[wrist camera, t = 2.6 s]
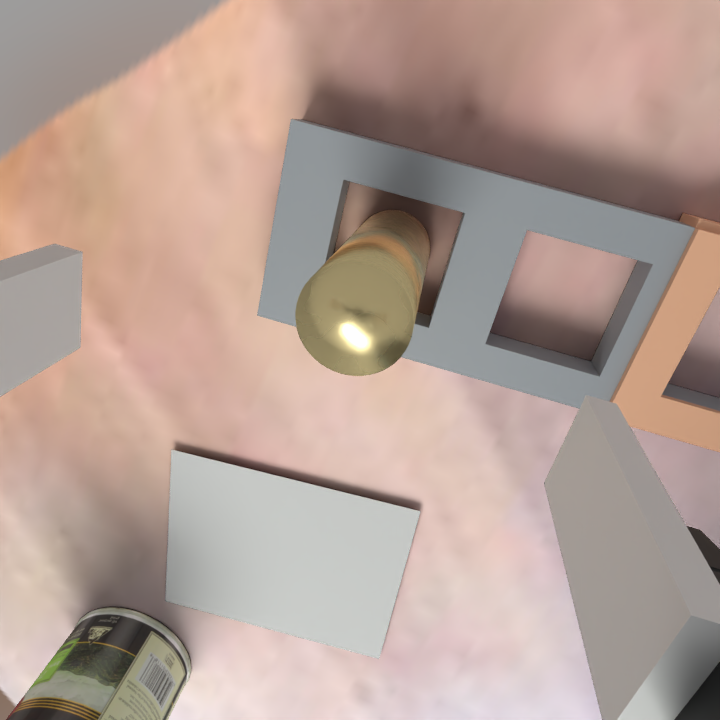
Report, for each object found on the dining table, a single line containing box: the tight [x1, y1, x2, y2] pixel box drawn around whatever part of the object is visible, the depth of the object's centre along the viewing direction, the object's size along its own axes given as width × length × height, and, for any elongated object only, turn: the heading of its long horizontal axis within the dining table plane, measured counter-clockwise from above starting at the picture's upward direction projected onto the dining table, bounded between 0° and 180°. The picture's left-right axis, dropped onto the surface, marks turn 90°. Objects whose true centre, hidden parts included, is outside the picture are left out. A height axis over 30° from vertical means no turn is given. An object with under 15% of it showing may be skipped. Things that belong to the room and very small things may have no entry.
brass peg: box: [295, 210, 430, 376], centre depth 24 cm, size 4×4×12 cm
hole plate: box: [257, 119, 720, 452], centre depth 28 cm, size 30×10×2 cm, turn 76°
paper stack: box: [165, 450, 420, 659], centre depth 37 cm, size 23×25×1 cm
